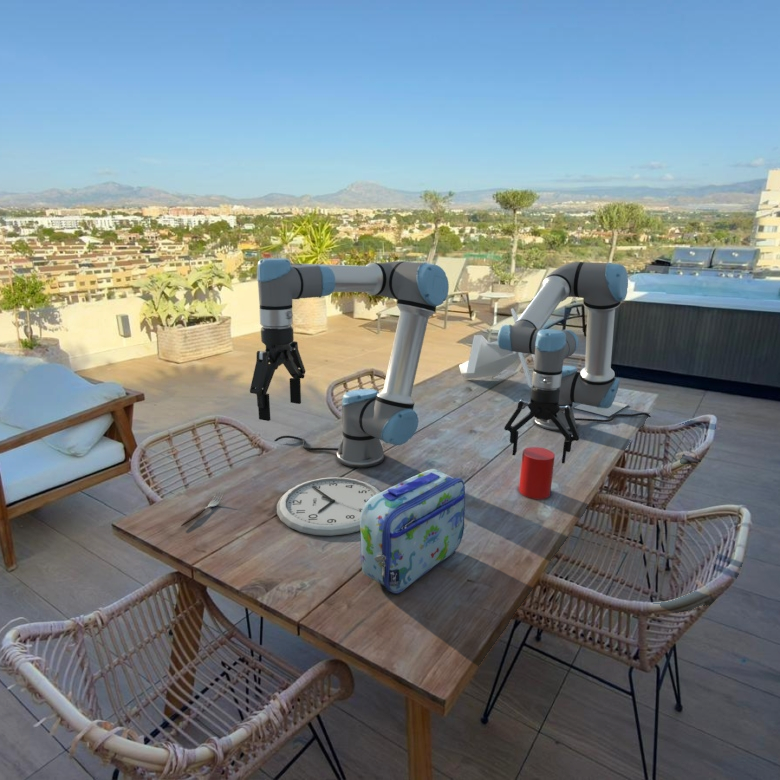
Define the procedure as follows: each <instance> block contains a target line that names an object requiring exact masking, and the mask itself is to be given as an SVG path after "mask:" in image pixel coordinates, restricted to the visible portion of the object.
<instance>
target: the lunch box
mask: <svg viewBox="0 0 780 780" xmlns="http://www.w3.org/2000/svg"><path fill="white" fill-rule="evenodd" d="M465 512H466V487H465V482H464V481H463V479H462V478H459V477H452V476H450V475H448V474H446V473H444V472H442V471H441V470H439V469H436V468H431V469H427V470H425V471H423V472H420V473H417V474H416V475H413V476H412V477H409V478H407V479H405V480H403V481H401V482H399V483H397V484H395V485H393V486H390V487H388V488H386V489H385V490H383V491H381V493H378V494H376V495H375V496H373V497H371V498H370V499H369V500H368V501H367V502H366V504H365V505H364V507H363V510H362V513H361V520H360V531H359V532H360V562H361V563H360V564H361V569H362V573H363V574H364V575H365V576H366V577H368V578H370V579H372V580H374V581H376V582H378V583H379V584H380V585H382V586H384V587H385V589H386V591H389V592H391V593H392V594H399V593H402V592H403V591H405V590H406V589H407V588H409V586H411V585H412V584H413V583H415V582H416V581H418V580H419V579H420V578H421V577H423V576H424V575H426V574H427V573H428V572H429V571H431V570H432V569H433V568H434V567H435V566H436V565H438V564H439V563H441V562H443V561H445V560H446V559H448V558H449V557H450V556H452V555H453V554H454V553H455V552H456V551H457V549H458V548H459V546H460V544H461V542H462V539H463V536H464V531H465V517H466V516H465V514H466V513H465Z"/></svg>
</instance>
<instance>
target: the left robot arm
mask: <svg viewBox="0 0 780 780" xmlns="http://www.w3.org/2000/svg"><path fill="white" fill-rule="evenodd" d="M256 275H257V277H256V280H257V288H258V303H259V324H260V325H261V328H260V341H261V343H262V344H264V346H265V349H264V350H263V351H262V350H257V351H256V361H255V366H254V370H253V375H252V379H251V384H250V388H249V393H250V394H255V395H256V403H257V404H256V406H257V410H258V420H261V421H267V422H270V421H271V405H270V402H271V401H270V393H268V390H269V387H270V384H271V382H272V379H273V376H274V374H275V371H276V370H278V369H279V367H280V366H282V365H283V366H284V368H285V369H286V371H287V372H288V374H289V375H290V376H291V377H289V400H290V403H292V404H297V405H301V404H302V393H301V388H302V387H301V384H302V383H301V379H302V380H303V379H305V374H306V368H305V365H304V362H303V360H302V357H301V354H300V351H299V345H298V341H297V340H296V341H295V340H294V327H293V326H292V325H293V324H294V322H293V316H294V315H293V314H294V313H293V300H298V299H299V300H300V299H310V298H322V297H327V296H330V295H331V294H333V293H365V294H367V295H368V296H377V297H384V298H389V299H392V300H396V307H397V308H398V310H399V315H398V320H397V325H396V330H395V333H394V334H395V335H394V338H393V344H392V347H391V353H390V357H389V361H388V364H387V365H388V366H387V371H386V375H385V379H384V384H383V389H382V390H381V391H380V392H379V390H377V389H373V388H360V389H359V388H358V389H353V390H350V391H347V392H344V394H343V396H342V402H341V417H342V419H341V420H342V421H341V422H342V438H341V440H340V443H339V445H338V447H309V446H306V442H307V441H306V440H305V439H304V438H302V437H298V436H294V435H281V436H278V437H276V438H275V439H274V440H273V441H274V442H278V441H280V440H281V439H282V440H283V439H292V440H293V439H294V440H298V441H300V442H302V448H303V449H305V450H308V451H337V452H336V456H337V457H336V458H337V461H338V462H339V464H341V465H343V466H346V467H349V468H357V469H363V468H364V469H365V468H372V467H374V466H377V465H380V464H381V463H382V462H383V461H384V458H385V452H384V447H383V446H385V444H389V445H393V446H402V445H404V444H406V443H407V442H408V441H410V440H411V439H412V438H413V437H414V435H415V433H416V431H417V429H418V426H419V417H418V414H417V412H416V411H415V410H414V408H415V401H414V399H413V398H412V393H413V388H414V384H415V380H416V375H417V371H418V366H419V362H420V357H421V353H422V349H423V345H424V339H425V335H426V331H427V326H428V322H429V319H430V317H432V316H433V315H435V314H436V310H437V307H439V306H441V305H443V303H444V302H445V301H446V300H447V297H448V295H449V289H450V286H449V285H450V284H449V283H450V282H449V278H448V276H447V274H446V272H445V270H444V269H443V268H442V267H441V266H440V265H438V264H435V263H434V264H433V263H429V262H417V261H416V262H415V261H403V260H398V261H397V260H396V261H387V262H369V263H366V265H346V264H345V265H344V264H319V263H295V262H294V263H291V260H289V259H288V258H280V257H279V258H272V257H271V258H268V257H267V258H261V259H259V261H258V262H257V274H256ZM381 441H382V442H383V446H382V442H381Z"/></svg>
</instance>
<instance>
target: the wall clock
mask: <svg viewBox="0 0 780 780" xmlns="http://www.w3.org/2000/svg"><path fill="white" fill-rule="evenodd" d="M381 492H382V491H381V490H380V489H379V488H377V487H376V486H374V485H372V484H371V483H369V482H365V481H362V480H359V479H355V478H349V477H338V476H337V477H335V476H333V477H332V476H331V477H322V478H317V479H312V480H307V481H305V482H302V483H299V484H297V485H295V486H293V487H292V488H290V489H288V490H287V491H286V492H285V493H284V494H283V495H281V496H280V498H279V499H278V502H277V503H276V515H277V517H278V518H279V520H280V521H281V522H282V523H283V524H285V525H286V526H287V527H288V528H290V529H293V530H295V531H297V532H299V533H303V534H308V535H312V536H327V537H328V536H329V537H331V536H332V537H333V536H342V535H350V534H352V533H356V532H360V520H361V513H362V510H363V507H364V505H365V504H366V502H367V501H368V500H369V499H370V498H371V497H373V496H375V495H376V494H378V493H381Z"/></svg>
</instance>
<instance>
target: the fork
mask: <svg viewBox="0 0 780 780" xmlns="http://www.w3.org/2000/svg"><path fill="white" fill-rule="evenodd" d="M224 494H225V493H223V492H220V491H217V492H216V494H215V495H214V496H213V498H212V499H211V500H210V502H209V503H208V504H207V506H206V507H204V508H202V509H200V510H198V511H197V512H195V513H194V514H193V515H192V516H190V517H189V518H188V519H186V520H185V521H184V522H183V523H182V524H181V525H180V526H181V527H183V526H185V525H187V524H189V523H190V522H191V521H193V520H195V519H196V518H198V517H199V516H201V515H202V514H203V513H204V512H205V511H206V510H207V509H208V508H212V507H216V506H218V505H219V504H220V503H221V501H222V498H223V497H224Z"/></svg>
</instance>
